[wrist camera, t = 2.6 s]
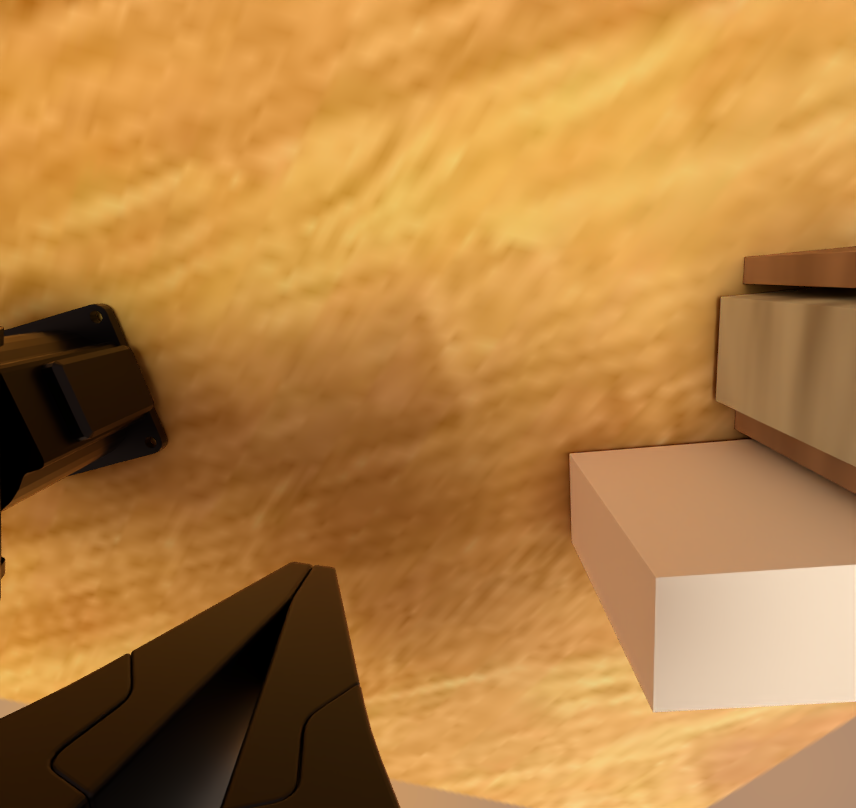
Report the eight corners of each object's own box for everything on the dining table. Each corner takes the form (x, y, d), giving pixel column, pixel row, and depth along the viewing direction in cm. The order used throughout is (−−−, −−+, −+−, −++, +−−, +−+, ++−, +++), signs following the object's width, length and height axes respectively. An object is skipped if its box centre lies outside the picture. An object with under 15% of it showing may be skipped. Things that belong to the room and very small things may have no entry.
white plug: (571, 541, 22) (653, 712, 14) (569, 453, 21) (655, 577, 13) (850, 522, 22) (1119, 687, 13) (862, 430, 21) (1163, 543, 12)
